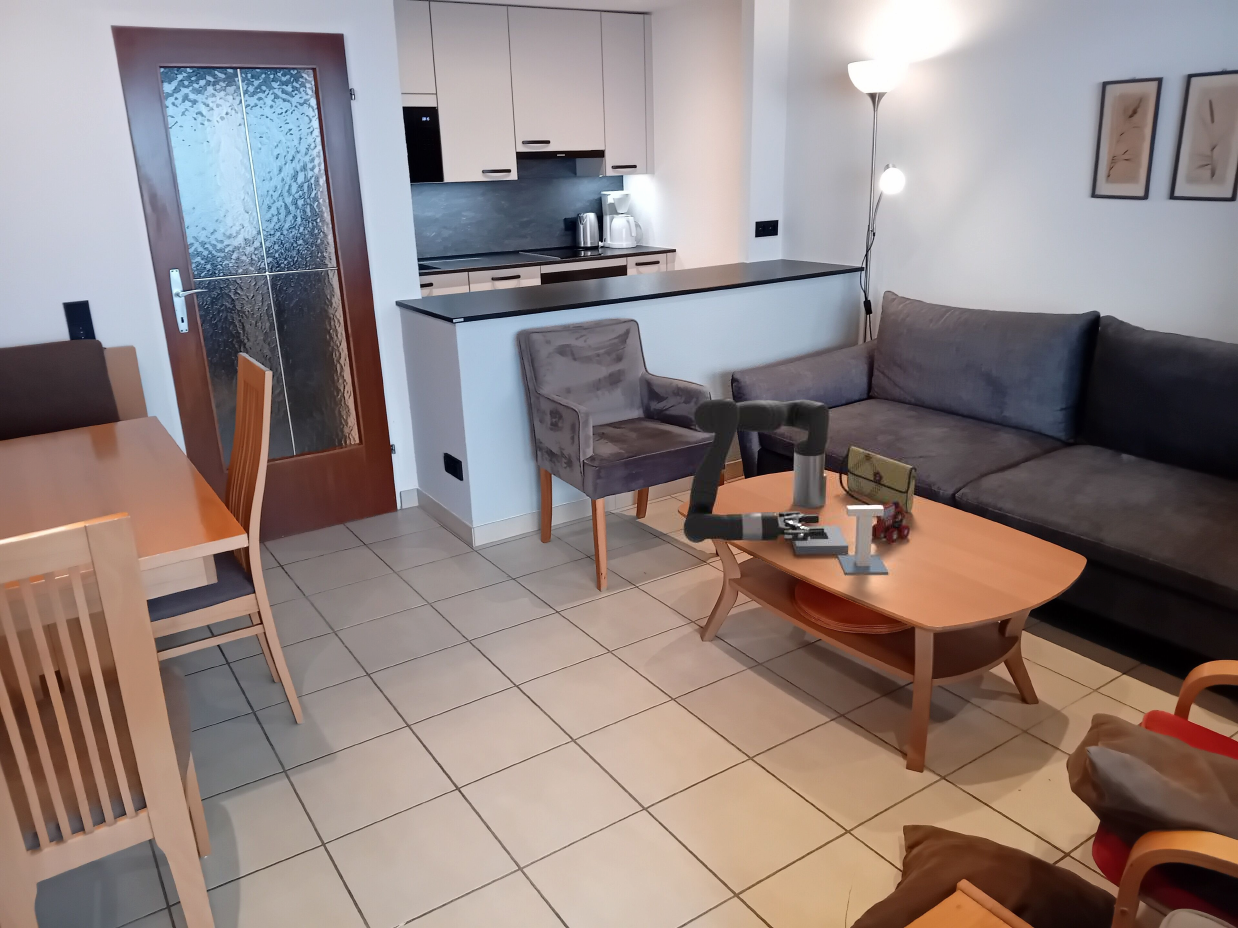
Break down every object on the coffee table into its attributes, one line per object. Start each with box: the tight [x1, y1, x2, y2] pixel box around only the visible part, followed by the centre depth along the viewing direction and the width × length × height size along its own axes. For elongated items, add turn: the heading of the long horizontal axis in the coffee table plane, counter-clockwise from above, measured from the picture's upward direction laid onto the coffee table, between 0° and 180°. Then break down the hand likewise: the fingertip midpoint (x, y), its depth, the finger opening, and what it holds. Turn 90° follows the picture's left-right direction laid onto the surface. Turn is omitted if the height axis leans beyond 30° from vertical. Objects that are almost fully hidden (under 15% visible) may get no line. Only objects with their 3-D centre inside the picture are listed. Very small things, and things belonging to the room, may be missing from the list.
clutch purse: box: [838, 445, 917, 514], centre depth 273 cm, size 30×7×15 cm, turn 29°
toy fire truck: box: [872, 501, 911, 545], centre depth 248 cm, size 7×12×10 cm, turn 128°
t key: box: [845, 504, 884, 566], centre depth 231 cm, size 9×3×16 cm, turn 87°
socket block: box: [791, 525, 849, 556], centre depth 247 cm, size 14×14×2 cm
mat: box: [837, 553, 889, 575], centre depth 233 cm, size 11×11×1 cm
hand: (821, 525), depth 231 cm, fingers open, 8 cm apart
